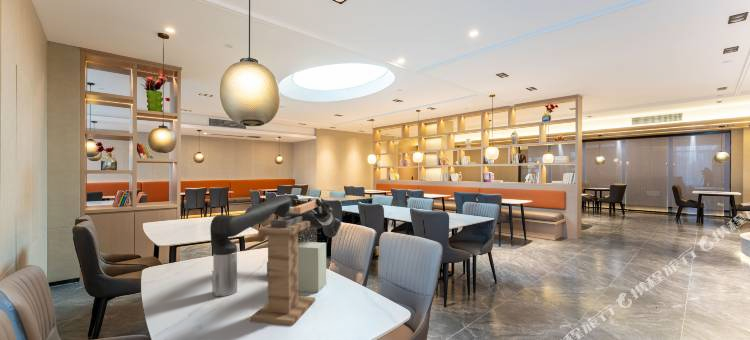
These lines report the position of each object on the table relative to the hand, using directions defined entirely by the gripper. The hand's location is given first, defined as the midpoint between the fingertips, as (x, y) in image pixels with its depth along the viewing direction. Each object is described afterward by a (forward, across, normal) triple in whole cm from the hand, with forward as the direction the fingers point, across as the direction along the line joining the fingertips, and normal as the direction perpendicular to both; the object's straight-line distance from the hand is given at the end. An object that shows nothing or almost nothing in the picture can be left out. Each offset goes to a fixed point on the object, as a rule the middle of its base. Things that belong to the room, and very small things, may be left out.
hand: (312, 200), depth 144 cm
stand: (+1, +1, -46) cm, 46 cm away
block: (+3, 0, -6) cm, 7 cm away
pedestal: (-19, +1, -34) cm, 39 cm away
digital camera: (-30, +22, -28) cm, 47 cm away
